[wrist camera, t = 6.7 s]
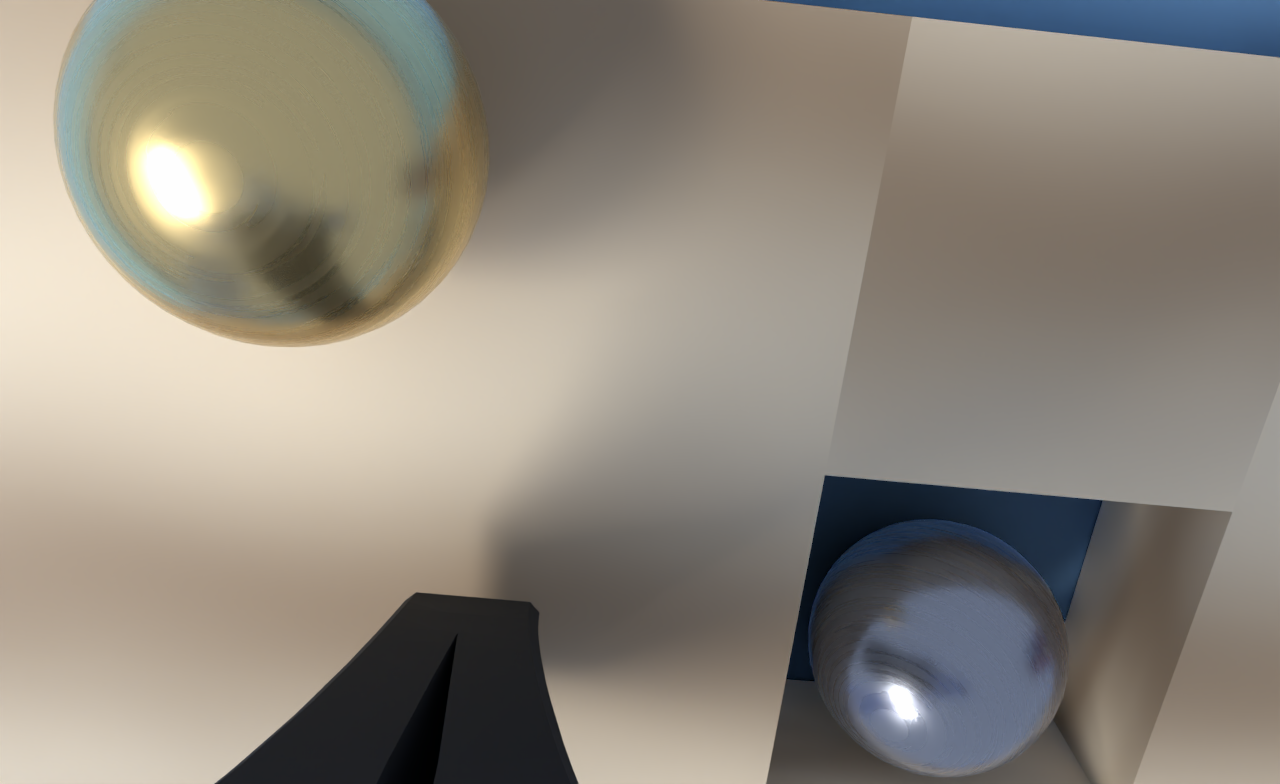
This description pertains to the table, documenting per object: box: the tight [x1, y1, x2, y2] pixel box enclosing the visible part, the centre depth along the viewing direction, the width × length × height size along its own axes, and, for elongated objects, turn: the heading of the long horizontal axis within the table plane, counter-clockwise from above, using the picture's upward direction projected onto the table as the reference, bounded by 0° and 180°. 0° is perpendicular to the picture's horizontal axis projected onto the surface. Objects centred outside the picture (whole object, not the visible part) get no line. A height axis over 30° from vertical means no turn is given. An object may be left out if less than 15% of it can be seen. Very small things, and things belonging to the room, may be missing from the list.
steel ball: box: [808, 519, 1069, 778], centre depth 13 cm, size 3×3×3 cm
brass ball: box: [53, 0, 490, 347], centre depth 8 cm, size 3×3×3 cm
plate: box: [0, 0, 1280, 784], centre depth 13 cm, size 15×17×2 cm
